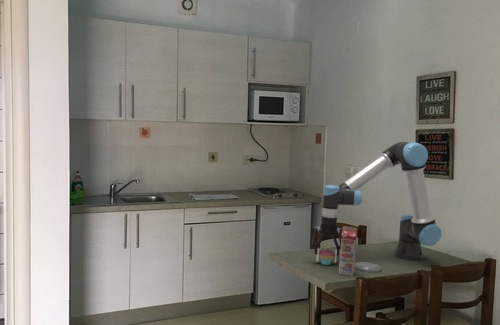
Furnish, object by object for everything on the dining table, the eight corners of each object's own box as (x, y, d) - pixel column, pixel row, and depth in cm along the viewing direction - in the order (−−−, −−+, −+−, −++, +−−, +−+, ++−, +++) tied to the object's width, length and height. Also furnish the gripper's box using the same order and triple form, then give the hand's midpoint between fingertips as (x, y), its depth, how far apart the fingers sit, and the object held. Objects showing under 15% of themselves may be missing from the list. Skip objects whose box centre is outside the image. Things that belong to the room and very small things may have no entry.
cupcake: (314, 261, 232) (315, 238, 232) (328, 260, 236) (330, 237, 235) (323, 266, 225) (325, 242, 224) (338, 265, 228) (339, 242, 227)
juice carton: (340, 269, 221) (343, 224, 220) (354, 271, 220) (357, 226, 218) (338, 273, 215) (342, 227, 214) (353, 275, 213) (356, 229, 212)
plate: (377, 265, 233) (377, 262, 233) (384, 273, 220) (384, 270, 220) (351, 263, 233) (351, 261, 233) (356, 271, 220) (357, 269, 220)
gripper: (349, 216, 232) (345, 260, 234) (307, 213, 232) (304, 257, 234) (352, 219, 224) (348, 264, 226) (309, 216, 225) (305, 262, 227)
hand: (326, 261), depth 230 cm, fingers closed on cupcake, 8 cm apart
